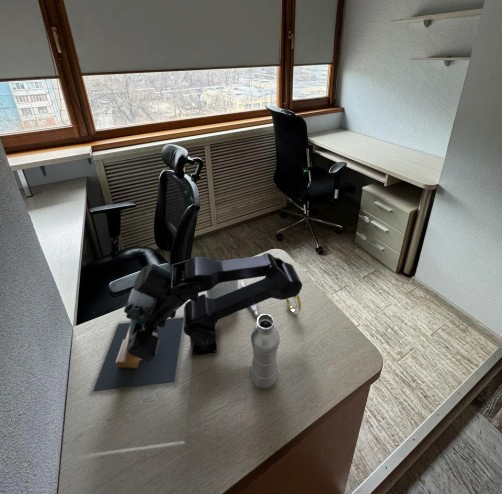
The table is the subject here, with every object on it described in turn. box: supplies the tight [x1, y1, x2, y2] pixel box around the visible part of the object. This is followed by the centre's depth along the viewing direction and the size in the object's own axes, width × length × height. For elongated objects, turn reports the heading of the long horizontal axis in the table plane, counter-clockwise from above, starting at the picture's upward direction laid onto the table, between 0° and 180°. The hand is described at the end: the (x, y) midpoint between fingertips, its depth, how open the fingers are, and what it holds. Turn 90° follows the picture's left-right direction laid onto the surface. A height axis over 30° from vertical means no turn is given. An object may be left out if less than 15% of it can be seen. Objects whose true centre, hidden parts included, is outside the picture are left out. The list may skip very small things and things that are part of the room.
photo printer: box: [206, 280, 239, 299], centre depth 84 cm, size 10×4×12 cm, turn 123°
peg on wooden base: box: [117, 316, 143, 370], centre depth 69 cm, size 5×10×14 cm, turn 5°
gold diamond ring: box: [285, 294, 302, 315], centre depth 82 cm, size 7×3×8 cm, turn 24°
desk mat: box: [92, 317, 184, 392], centre depth 72 cm, size 19×17×1 cm
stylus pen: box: [239, 279, 260, 318], centre depth 87 cm, size 15×3×2 cm, turn 22°
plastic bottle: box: [250, 313, 281, 389], centre depth 63 cm, size 6×7×20 cm
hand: (132, 334), depth 70 cm, fingers closed on peg on wooden base, 3 cm apart
